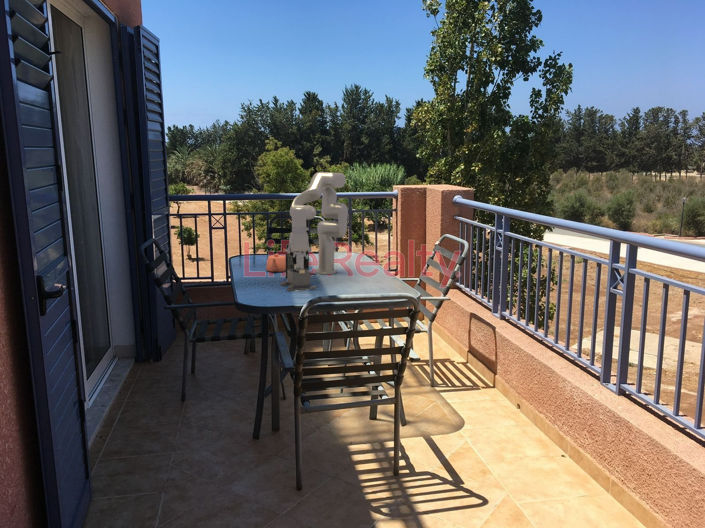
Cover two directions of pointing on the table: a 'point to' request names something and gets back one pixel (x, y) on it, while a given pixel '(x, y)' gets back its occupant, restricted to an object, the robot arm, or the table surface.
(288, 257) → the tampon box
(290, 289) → the stand base
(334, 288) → the table surface
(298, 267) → the column
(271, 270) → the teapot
